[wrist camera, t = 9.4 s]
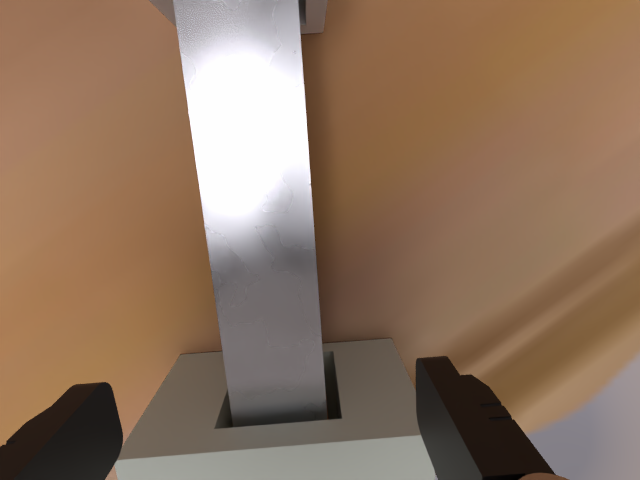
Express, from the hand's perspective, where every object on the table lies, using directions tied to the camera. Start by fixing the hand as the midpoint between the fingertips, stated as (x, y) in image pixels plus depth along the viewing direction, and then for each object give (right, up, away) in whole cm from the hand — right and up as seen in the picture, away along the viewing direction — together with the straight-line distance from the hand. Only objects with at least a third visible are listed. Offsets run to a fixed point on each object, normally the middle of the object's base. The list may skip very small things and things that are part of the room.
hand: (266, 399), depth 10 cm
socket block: (0, -5, +12) cm, 13 cm away
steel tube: (-1, +6, +8) cm, 10 cm away
